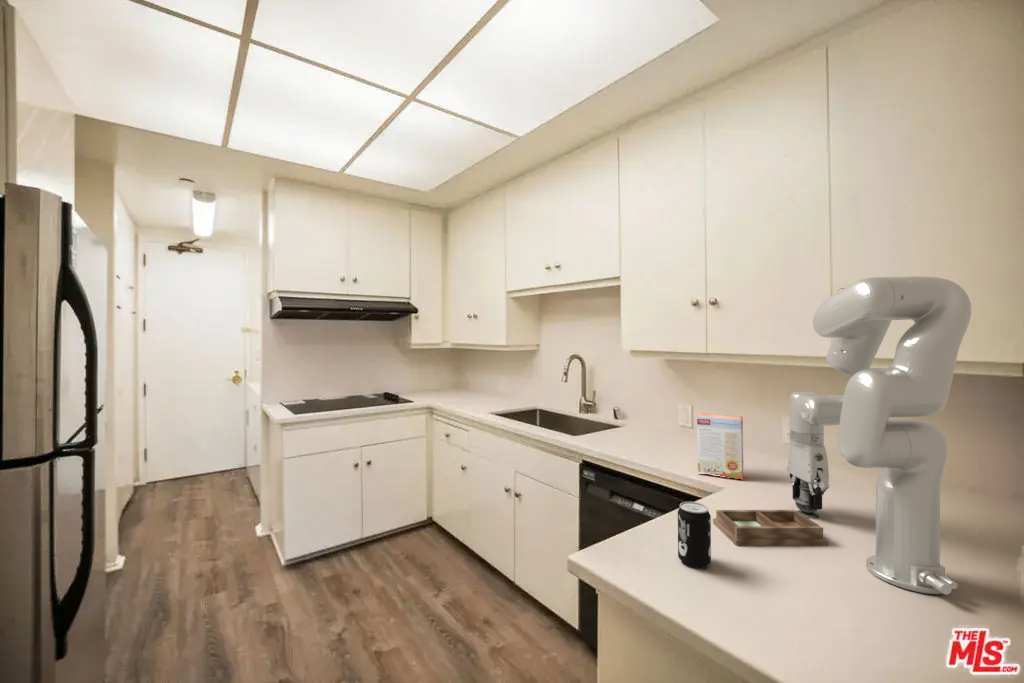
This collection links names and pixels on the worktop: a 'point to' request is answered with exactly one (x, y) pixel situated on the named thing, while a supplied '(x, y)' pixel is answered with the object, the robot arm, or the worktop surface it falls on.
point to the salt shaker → (805, 501)
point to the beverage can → (694, 534)
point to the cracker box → (720, 445)
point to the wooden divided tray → (769, 527)
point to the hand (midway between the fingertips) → (806, 503)
